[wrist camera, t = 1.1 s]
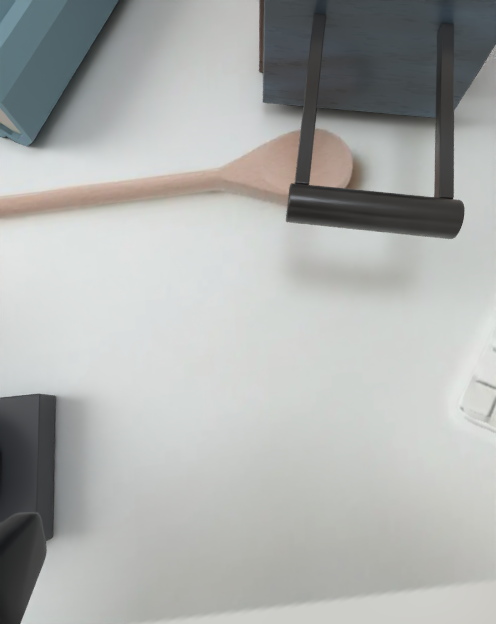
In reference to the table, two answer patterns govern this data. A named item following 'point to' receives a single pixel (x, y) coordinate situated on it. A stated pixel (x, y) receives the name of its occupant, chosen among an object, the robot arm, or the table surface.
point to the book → (42, 57)
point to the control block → (27, 457)
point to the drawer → (376, 93)
